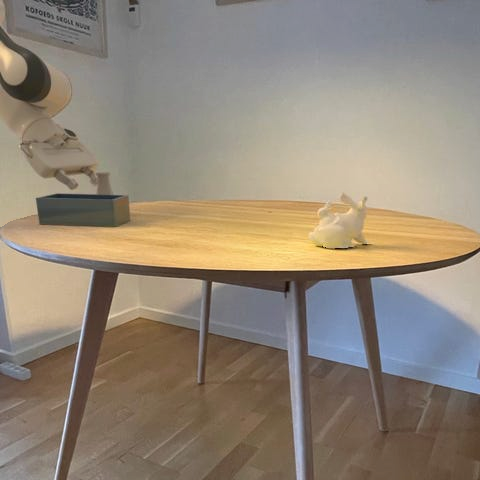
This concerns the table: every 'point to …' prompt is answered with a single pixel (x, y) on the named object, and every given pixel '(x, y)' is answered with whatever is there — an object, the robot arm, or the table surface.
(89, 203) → the open box
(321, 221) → the rabbit figurine
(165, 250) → the table surface
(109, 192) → the flask
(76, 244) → the table surface
